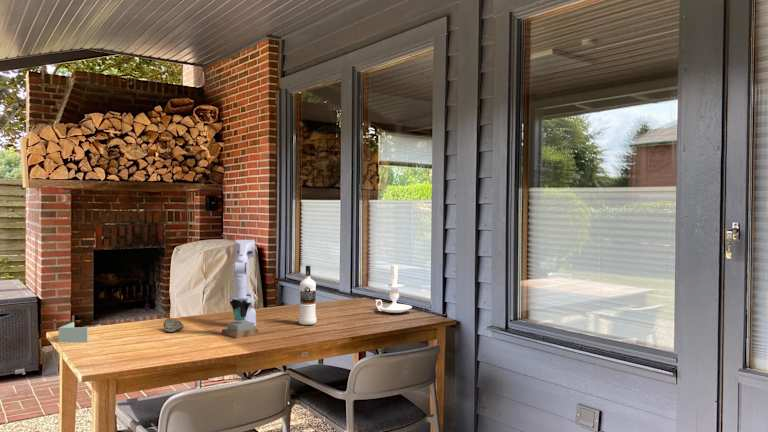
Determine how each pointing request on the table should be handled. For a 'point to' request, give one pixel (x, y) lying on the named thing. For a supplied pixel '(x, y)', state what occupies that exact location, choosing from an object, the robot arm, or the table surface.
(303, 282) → the vodka
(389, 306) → the candlestick
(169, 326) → the rock sample
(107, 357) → the table surface
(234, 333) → the walnut base slab
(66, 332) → the right angle wall
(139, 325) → the table surface
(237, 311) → the teal cylinder
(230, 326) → the gray top slab
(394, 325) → the table surface
